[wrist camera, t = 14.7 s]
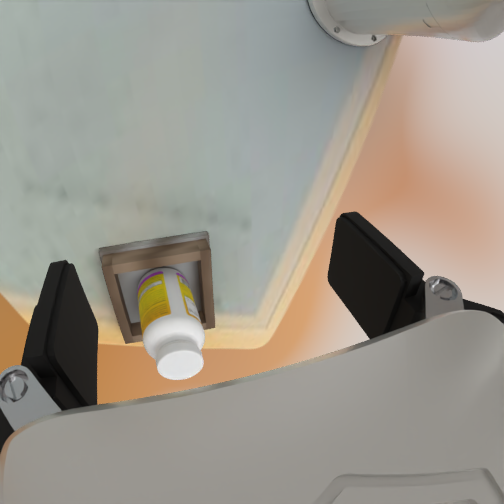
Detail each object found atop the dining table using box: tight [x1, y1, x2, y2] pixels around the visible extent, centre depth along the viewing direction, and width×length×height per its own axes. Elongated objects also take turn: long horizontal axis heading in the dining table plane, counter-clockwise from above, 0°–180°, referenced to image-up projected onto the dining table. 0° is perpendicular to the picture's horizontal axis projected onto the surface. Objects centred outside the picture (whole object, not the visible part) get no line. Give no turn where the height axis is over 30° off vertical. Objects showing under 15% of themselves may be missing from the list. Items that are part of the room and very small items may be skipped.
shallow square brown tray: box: [99, 231, 215, 344], centre depth 39 cm, size 13×13×4 cm
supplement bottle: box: [137, 268, 205, 380], centre depth 35 cm, size 7×7×13 cm
